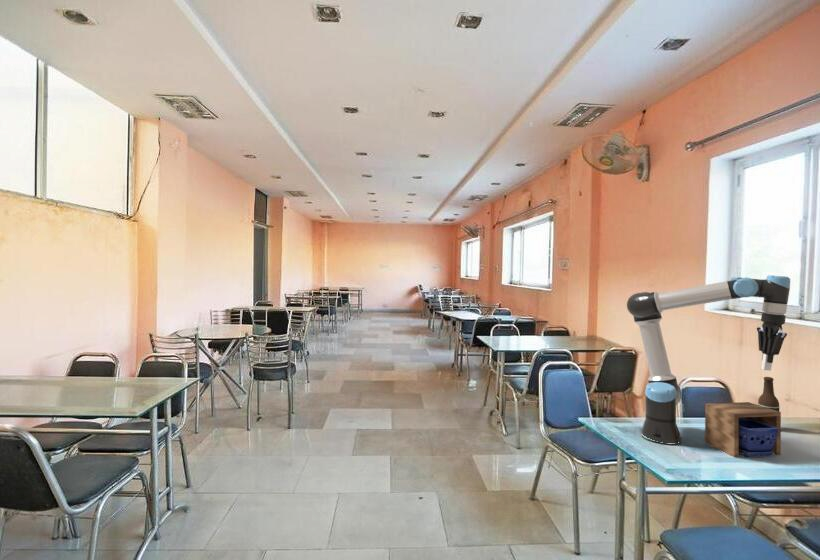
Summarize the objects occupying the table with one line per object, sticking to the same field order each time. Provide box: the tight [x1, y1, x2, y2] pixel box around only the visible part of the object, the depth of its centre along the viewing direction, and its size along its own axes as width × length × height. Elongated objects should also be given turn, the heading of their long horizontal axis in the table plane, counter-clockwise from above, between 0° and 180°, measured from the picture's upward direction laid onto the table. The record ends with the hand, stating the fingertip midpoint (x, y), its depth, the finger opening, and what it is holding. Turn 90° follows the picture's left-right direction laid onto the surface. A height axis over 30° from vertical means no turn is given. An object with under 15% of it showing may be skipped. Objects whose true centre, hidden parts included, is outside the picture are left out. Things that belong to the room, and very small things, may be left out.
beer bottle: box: [757, 376, 780, 412], centre depth 201 cm, size 8×8×24 cm
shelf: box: [704, 401, 782, 458], centre depth 176 cm, size 14×21×17 cm
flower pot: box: [738, 419, 778, 458], centre depth 173 cm, size 13×13×12 cm
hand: (766, 369), depth 176 cm, fingers closed
